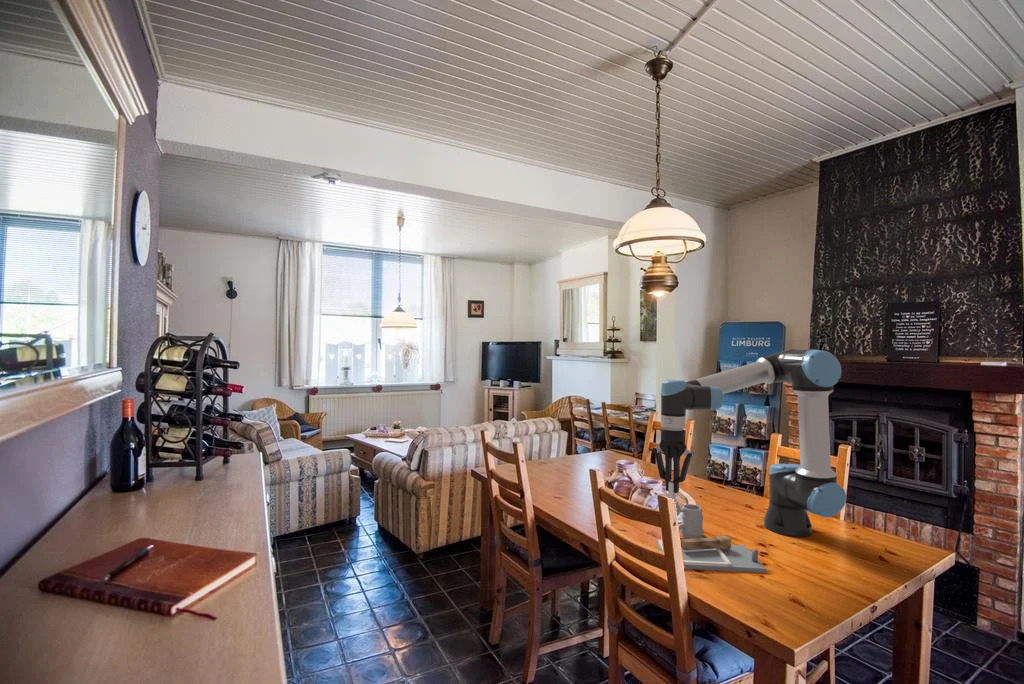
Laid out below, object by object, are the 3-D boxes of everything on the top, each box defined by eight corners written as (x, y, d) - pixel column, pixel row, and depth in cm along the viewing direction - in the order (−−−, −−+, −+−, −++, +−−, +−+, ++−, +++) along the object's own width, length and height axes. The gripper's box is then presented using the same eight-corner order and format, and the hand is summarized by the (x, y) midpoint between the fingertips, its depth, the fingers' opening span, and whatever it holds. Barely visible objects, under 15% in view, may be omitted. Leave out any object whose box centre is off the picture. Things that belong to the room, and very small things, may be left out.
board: (744, 549, 155) (745, 535, 155) (765, 572, 140) (766, 557, 140) (656, 545, 158) (656, 531, 158) (666, 567, 142) (667, 552, 142)
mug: (708, 539, 163) (708, 503, 163) (677, 541, 161) (677, 505, 161) (695, 530, 171) (696, 496, 171) (665, 532, 169) (665, 498, 169)
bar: (725, 542, 155) (725, 535, 155) (734, 548, 150) (734, 540, 150) (678, 545, 152) (678, 538, 152) (686, 551, 148) (686, 543, 148)
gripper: (648, 427, 155) (647, 500, 155) (689, 432, 147) (689, 509, 147) (657, 424, 161) (656, 495, 161) (697, 429, 153) (696, 503, 153)
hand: (672, 502), depth 154 cm, fingers closed
